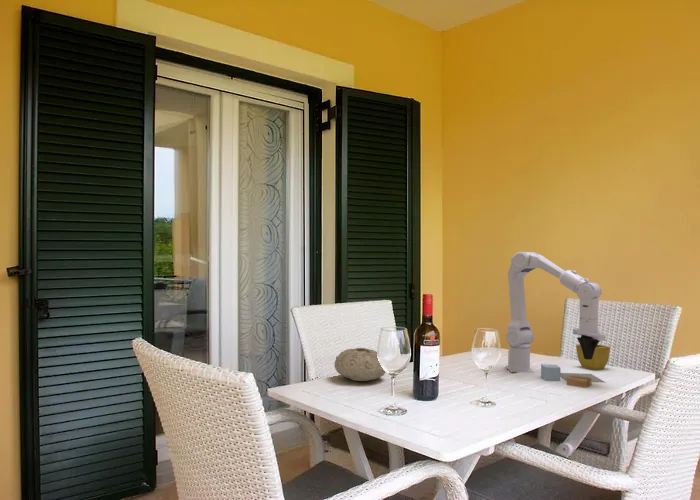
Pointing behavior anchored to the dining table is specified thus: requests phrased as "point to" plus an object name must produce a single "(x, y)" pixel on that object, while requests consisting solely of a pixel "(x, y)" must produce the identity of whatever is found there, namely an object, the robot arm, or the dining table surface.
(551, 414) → the dining table surface
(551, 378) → the blue cube
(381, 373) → the grey rounded lump
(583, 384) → the walnut block
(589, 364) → the flower pot
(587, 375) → the letter mat
